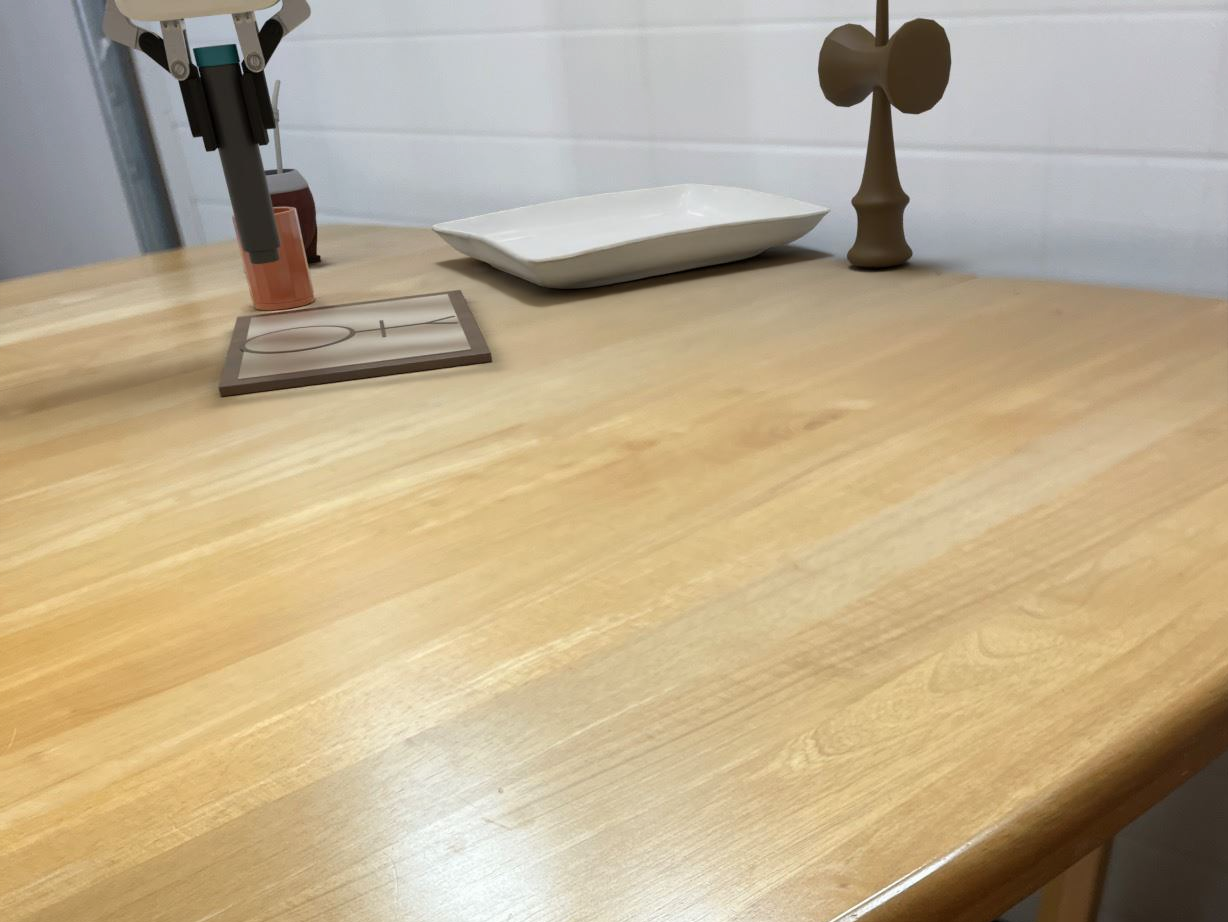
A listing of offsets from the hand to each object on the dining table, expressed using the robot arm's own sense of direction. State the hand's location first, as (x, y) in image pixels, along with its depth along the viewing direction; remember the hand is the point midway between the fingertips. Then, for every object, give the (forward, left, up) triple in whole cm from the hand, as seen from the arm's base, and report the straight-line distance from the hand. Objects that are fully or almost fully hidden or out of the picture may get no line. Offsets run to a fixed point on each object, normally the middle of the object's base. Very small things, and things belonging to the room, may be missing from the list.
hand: (237, 143), depth 88 cm
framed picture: (+6, 0, -14) cm, 15 cm away
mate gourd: (+26, +34, -14) cm, 45 cm away
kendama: (+42, -23, -14) cm, 49 cm away
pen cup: (+13, +18, -14) cm, 26 cm away
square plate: (+38, +1, -14) cm, 40 cm away
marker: (0, 0, -7) cm, 7 cm away
